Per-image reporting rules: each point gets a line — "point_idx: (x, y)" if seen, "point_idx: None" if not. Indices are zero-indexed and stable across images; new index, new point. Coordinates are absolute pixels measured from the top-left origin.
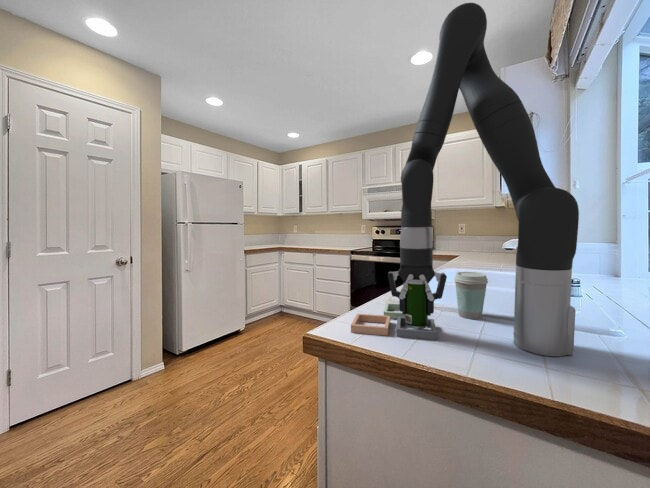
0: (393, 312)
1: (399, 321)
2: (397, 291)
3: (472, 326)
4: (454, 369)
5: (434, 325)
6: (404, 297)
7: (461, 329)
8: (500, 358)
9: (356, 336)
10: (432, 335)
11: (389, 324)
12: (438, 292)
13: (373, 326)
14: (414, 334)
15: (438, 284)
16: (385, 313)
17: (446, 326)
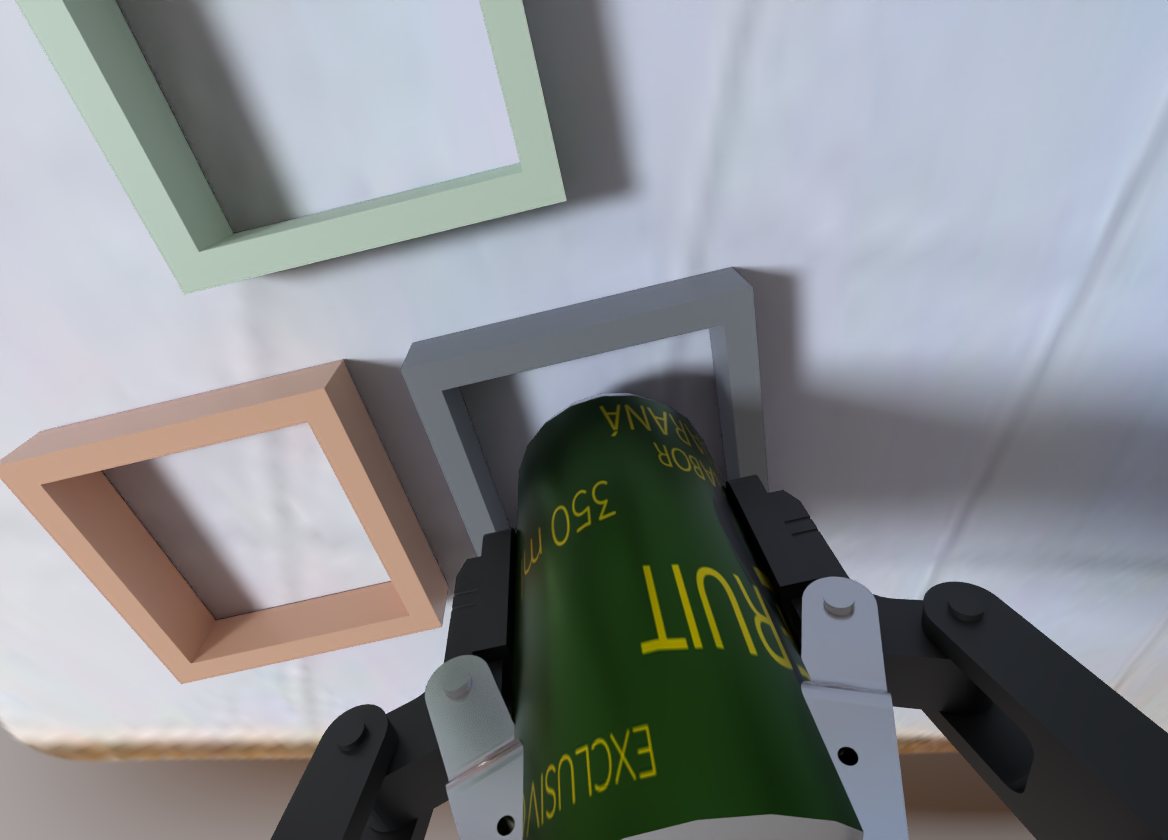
0: (294, 260)
1: (467, 483)
2: (413, 784)
3: (1096, 101)
4: None
5: (759, 442)
6: (509, 687)
7: (964, 239)
8: (1048, 571)
9: (282, 666)
10: None
11: (378, 451)
12: (972, 752)
13: (335, 640)
14: None
15: (1068, 806)
16: (214, 285)
17: (845, 221)
